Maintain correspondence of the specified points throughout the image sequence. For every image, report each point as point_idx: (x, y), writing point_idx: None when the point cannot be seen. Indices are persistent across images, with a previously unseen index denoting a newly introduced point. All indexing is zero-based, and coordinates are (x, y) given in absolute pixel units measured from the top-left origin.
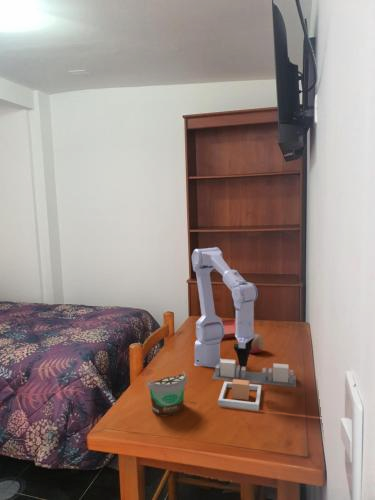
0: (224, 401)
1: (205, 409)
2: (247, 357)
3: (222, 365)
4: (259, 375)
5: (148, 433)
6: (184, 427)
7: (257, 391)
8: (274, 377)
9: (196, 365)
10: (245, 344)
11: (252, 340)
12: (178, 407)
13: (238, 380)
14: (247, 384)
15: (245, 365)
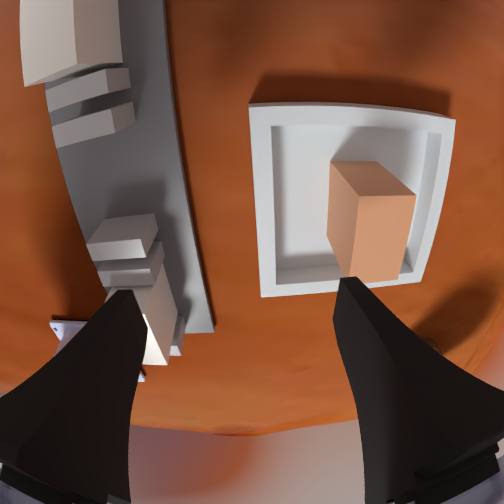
0: (425, 259)
1: (423, 293)
2: (421, 341)
3: (166, 345)
4: (87, 150)
5: (477, 347)
6: (481, 307)
7: (337, 123)
8: (112, 53)
9: (143, 377)
10: (460, 492)
11: (44, 423)
12: (436, 350)
13: (363, 257)
14: (409, 201)
15: (361, 288)
